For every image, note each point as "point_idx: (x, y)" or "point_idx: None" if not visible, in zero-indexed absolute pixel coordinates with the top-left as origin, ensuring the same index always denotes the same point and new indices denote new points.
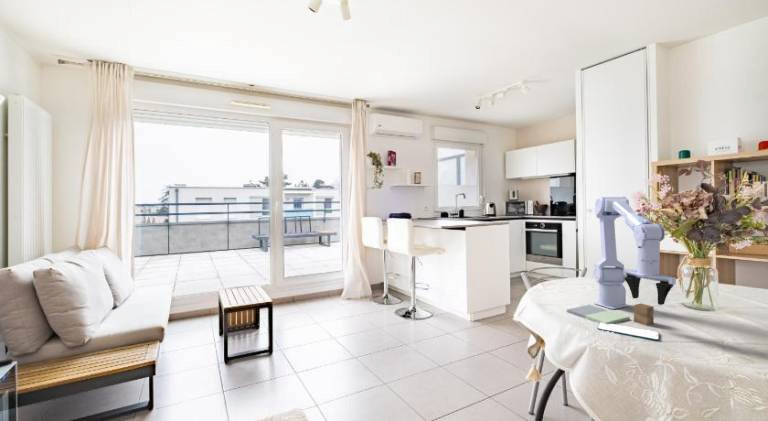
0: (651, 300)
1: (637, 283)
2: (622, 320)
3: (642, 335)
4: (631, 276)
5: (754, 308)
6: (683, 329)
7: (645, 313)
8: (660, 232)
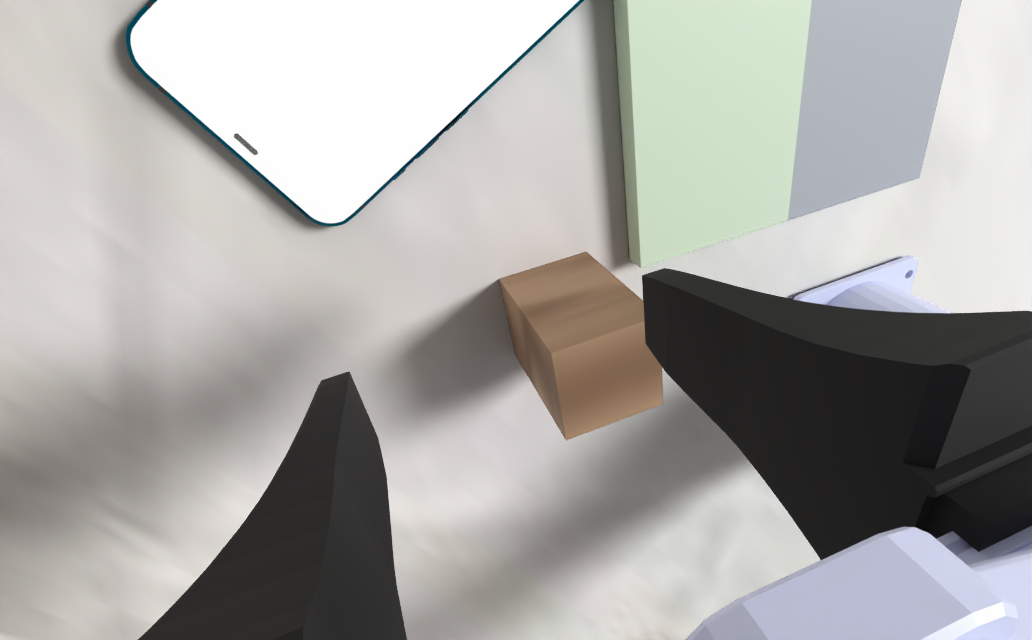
0: (763, 574)
1: (794, 469)
2: (627, 174)
3: None
4: (1006, 485)
5: None
6: (383, 456)
7: (540, 323)
8: None
